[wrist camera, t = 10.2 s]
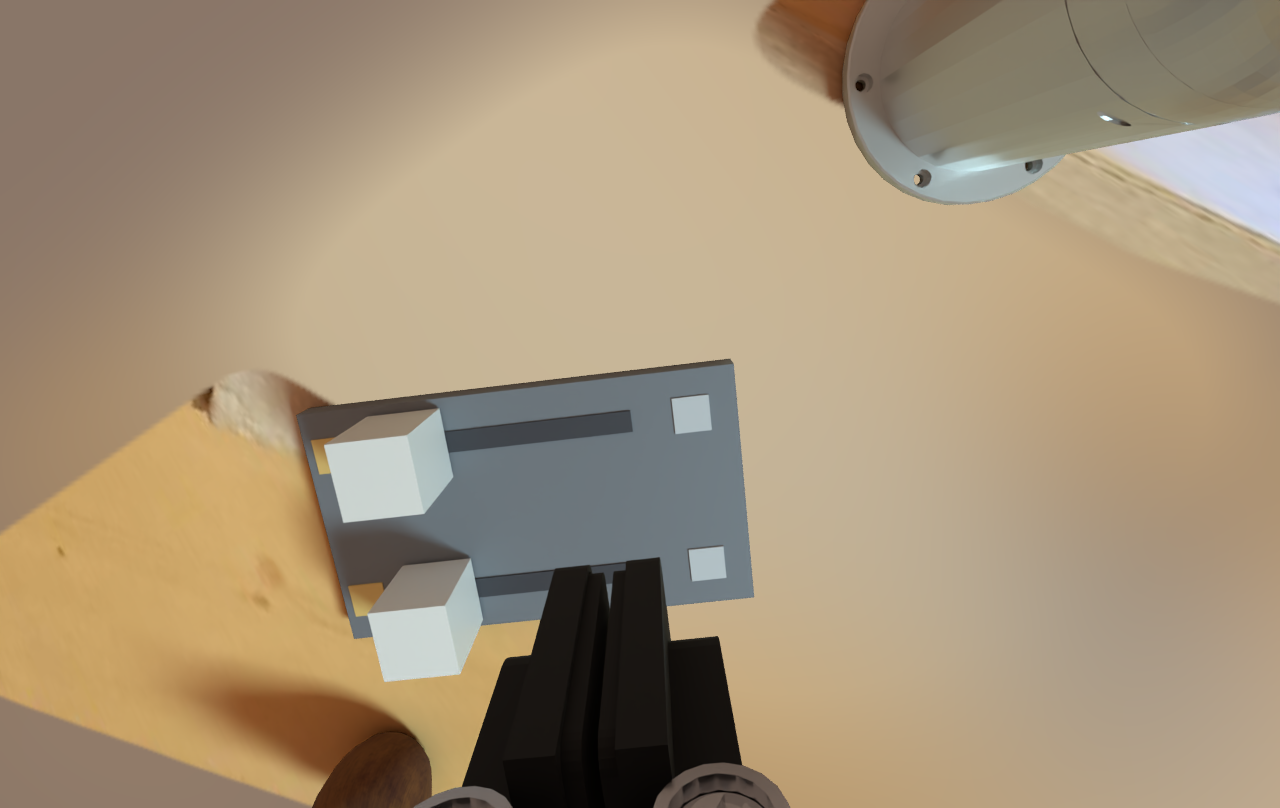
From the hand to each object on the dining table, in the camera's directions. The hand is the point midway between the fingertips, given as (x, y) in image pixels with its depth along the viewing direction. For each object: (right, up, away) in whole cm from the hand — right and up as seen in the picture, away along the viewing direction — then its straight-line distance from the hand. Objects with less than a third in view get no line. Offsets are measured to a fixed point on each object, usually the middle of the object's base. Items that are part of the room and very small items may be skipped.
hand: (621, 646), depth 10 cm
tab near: (-12, +1, +26) cm, 29 cm away
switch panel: (-6, -2, +28) cm, 29 cm away
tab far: (-11, -7, +28) cm, 31 cm away
